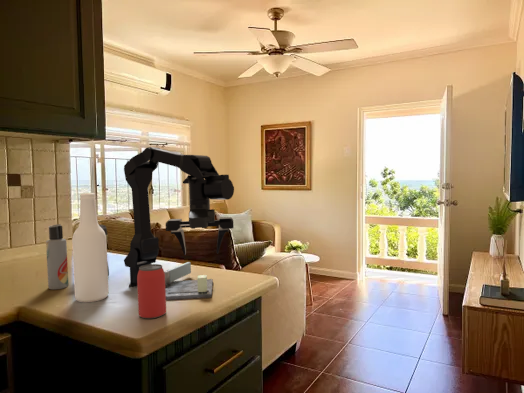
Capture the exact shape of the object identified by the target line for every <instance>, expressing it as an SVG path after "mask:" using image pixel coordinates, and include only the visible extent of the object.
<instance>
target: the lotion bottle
mask: <svg viewBox="0 0 524 393" xmlns="http://www.w3.org/2000/svg"><path fill="white" fill-rule="evenodd" d="M63 231H64V230H63V225H62V224H61V223H60V224H59V223H58V224H57V223H56V224H53V225H49V226H48V240H46V241H45V248H46V268H47V269H46V270H47V283H48V284H47V285H48V289H50V290H60V289H65V288H68V286H69V270H68V269H69V268H68V267H69V266H68V265H69V264H68V250H67V249H68V247H67V244H68V243H67V239H66V238H64V233H63Z"/></svg>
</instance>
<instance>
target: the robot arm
mask: <svg viewBox="0 0 524 393" xmlns="http://www.w3.org/2000/svg"><path fill="white" fill-rule="evenodd" d="M159 163H161V164H165V165H168V166H173V167H176V168H178V169H180V171H181V172H182V173H184V174H186V175H187V176H186V178H185V179H184V180H183V181H182V184H183V185H184V184H185V185H186V184H187V185H188V194H189V195H188V198H189V200H188V201H189V212H188V220H187V221H185V220H184V221H183V218H170V219H168V220H167V221H166V222H165V231H166V232H170V234H171V235H174V236H175V237H176V239H177V240H178V242H179V244H180V247H181V250H182V252H183V255H184V256H186V254H187V248H186V240H185V238H186V237H185V233H184V229H185V228H186V229H187V228H190V229H192V230H193V229H196V228H197V229H198V228H199V229H200V228H202V229H206V228H209V227H218V233H217V241H216V242H217V243H216V254H219V252H220V248H221V245H222V241H223V238H224V236H225V234H226V233H228V232H230V230H231V229H234V218H233V217H231V216H223V217H221V216H220V217H219V219H216V217H215V216H216V214H215V213H216V212H215V209H213V208H212V209H211V201H210V200H217V201H218V200H224V201H225V200H230V199H232V197H233V195H234V192H235V186H234V184H233V181H232V180H231V179H230V176H229V174H220V173H218V171H217V169H216V168H215V166H214V164H213V162H212V160H211V158H210V157H209V156H208V155H203V154H202V155H198V154H182V153H178V152H174V151H170V150H166V149H162V148H160V147H154V146H153V147H151V146H148V147H146V148H144V150H142V151H141V152H140V153H138V154H136V155H134V156H132V157H131V158H130V159H129V160H127V161H126V163H125V164H124V166H123V172H124V178H125V181H126V183H127V184H128V186H129V187H130V188H131V198H132V199H131V200H132V214H133V226H134V234H133V236H132V239H131V241H130V246H129V252H128V254H127V255H126V256H125V258H124V259H123V262H124V266H125V267H127V268H129V279H130V280H129V283H128V286H129V287H137V275H138V272H139V267H141V266H144V265H150V264H156V262H157V258H158V255H159V250H161V249H160V244H159V238H158V237H157V236H155V235H154V234H153V233H152V226H151V213H150V212H151V211H150V198H149V186H150V184H151V182H152V181H153V172H154V171H155V170H157V169H158V167H159ZM183 228H184V229H183Z"/></svg>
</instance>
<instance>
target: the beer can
mask: <svg viewBox="0 0 524 393" xmlns="http://www.w3.org/2000/svg"><path fill="white" fill-rule="evenodd" d="M164 272H165V270H164V268H163V265H162V264H157V263H151V264H150V265H144V266H141V267H139V272H138V275H137V286H136V288H137V305H138V306H137V308H138V316H139V317H141V318H142V319H147V320H148V319H157V318H160V317H163V316H164V315H165V314H166V312H167V300H166V291H165V273H164Z"/></svg>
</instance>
